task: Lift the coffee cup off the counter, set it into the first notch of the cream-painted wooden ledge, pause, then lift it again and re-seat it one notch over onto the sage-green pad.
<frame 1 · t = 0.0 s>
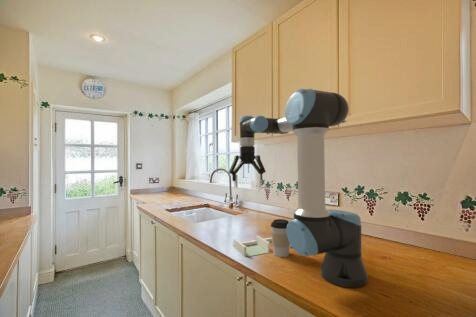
hand: (247, 186, 124), 28 cm above the worktop, fingers open, 13 cm apart
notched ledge: (263, 247, 114), on the worktop
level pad: (253, 251, 109), on the worktop
coffee cup: (281, 254, 106), on the worktop
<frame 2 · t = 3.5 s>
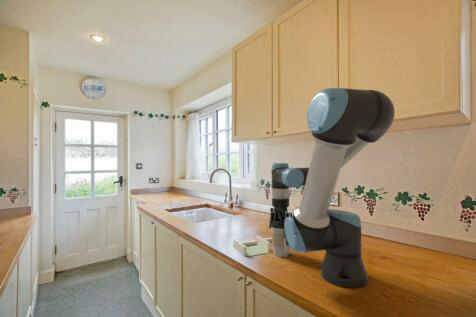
hand: (281, 248, 106), 2 cm above the worktop, fingers closed on coffee cup, 9 cm apart
coffee cup: (281, 254, 106), on the worktop, touching gripper
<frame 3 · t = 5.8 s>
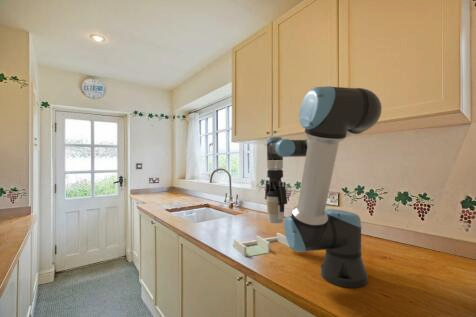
hand: (275, 216, 114), 15 cm above the worktop, fingers closed on coffee cup, 8 cm apart
coffee cup: (275, 221, 114), point 12 cm above the worktop, touching gripper
when the fingers open (3 cm above the worktop, at t = 8.1 s): coffee cup stays where it is, on the worktop.
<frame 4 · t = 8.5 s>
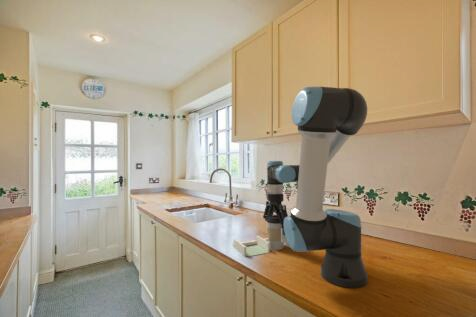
hand: (276, 237, 114), 5 cm above the worktop, fingers open, 13 cm apart
coffee cup: (276, 247, 114), on the worktop
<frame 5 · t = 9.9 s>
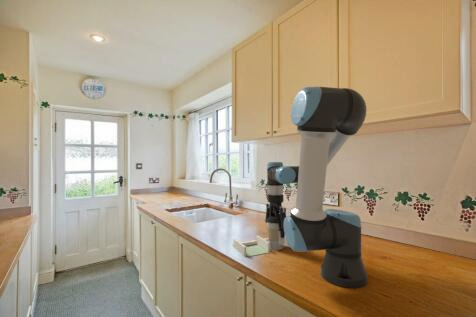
hand: (276, 241, 114), 3 cm above the worktop, fingers closed on coffee cup, 9 cm apart
coffee cup: (276, 247, 114), on the worktop, touching gripper
when the fingers open (3 cm above the worktop, at t = 15.0 s): coffee cup stays where it is, resting on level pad.
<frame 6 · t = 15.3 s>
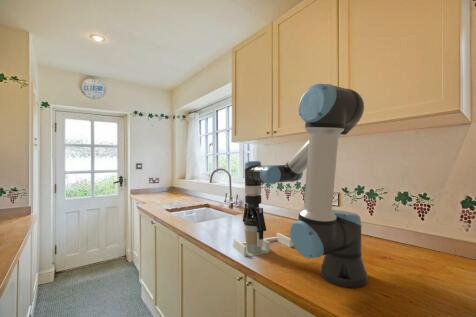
hand: (253, 242, 109), 4 cm above the worktop, fingers open, 11 cm apart
coffee cup: (254, 251, 109), resting on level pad
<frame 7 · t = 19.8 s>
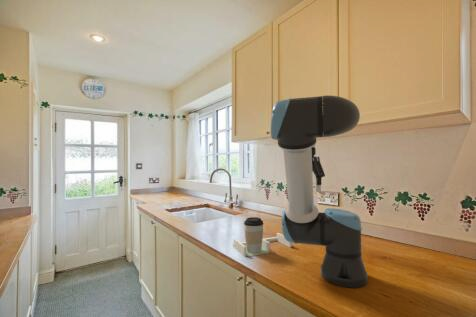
hand: (308, 190, 116), 27 cm above the worktop, fingers open, 13 cm apart
nothing on the worktop moved.
at the end: coffee cup inside the target area (0.4 cm from its centre), resting on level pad; coffee cup tilted 0°; the gripper is holding nothing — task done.
